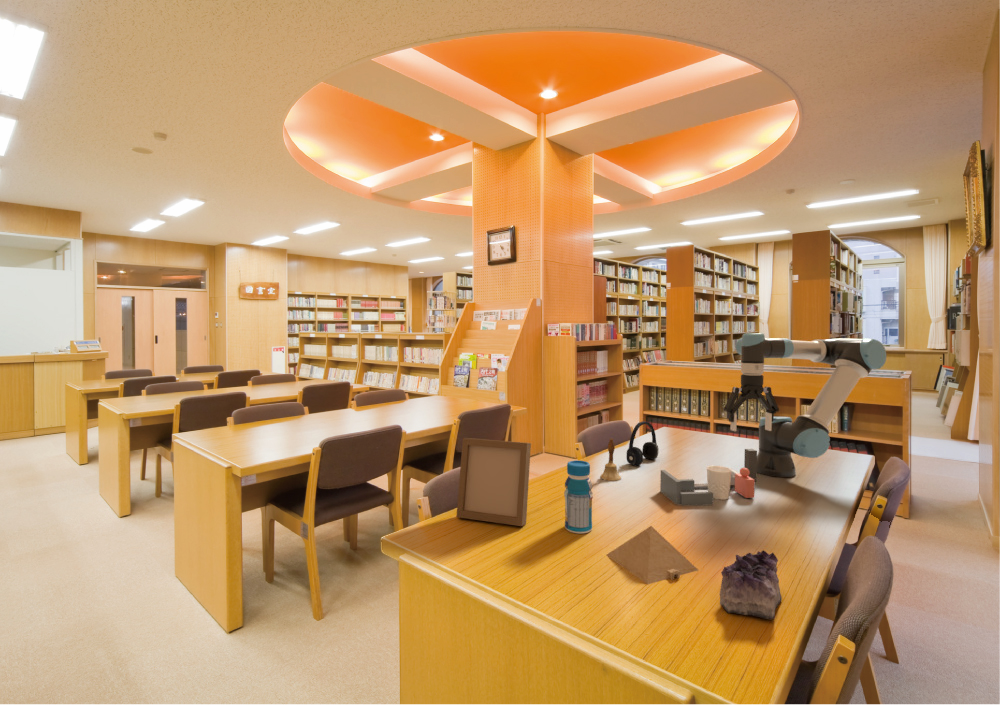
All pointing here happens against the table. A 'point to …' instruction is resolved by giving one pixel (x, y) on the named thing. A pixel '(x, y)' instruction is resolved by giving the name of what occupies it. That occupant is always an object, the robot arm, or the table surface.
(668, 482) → the frame
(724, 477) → the white cup
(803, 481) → the table surface
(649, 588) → the table surface
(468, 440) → the photo frame
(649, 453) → the headphones
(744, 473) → the striker slider
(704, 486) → the rail
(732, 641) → the table surface
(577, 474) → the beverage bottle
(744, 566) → the geode
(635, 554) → the model pyramid
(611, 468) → the hand bell
